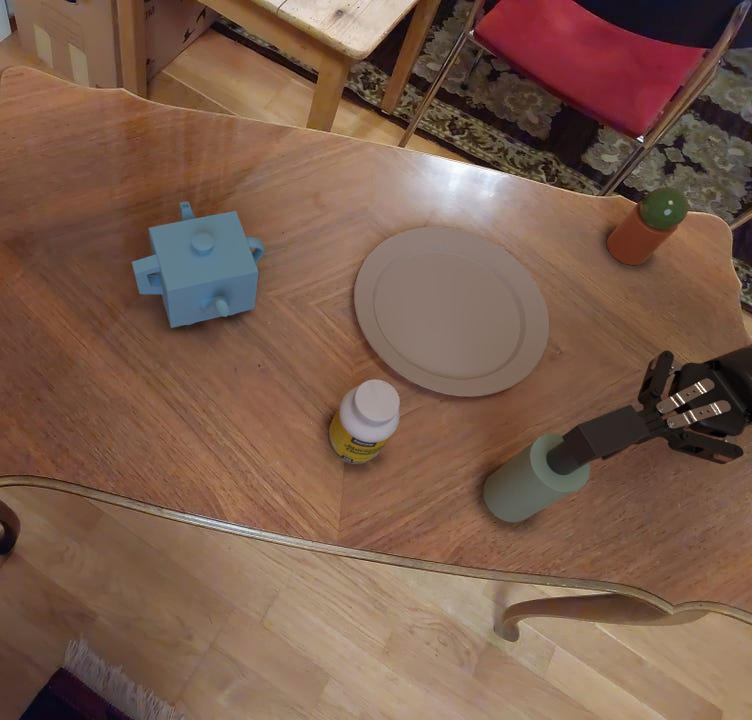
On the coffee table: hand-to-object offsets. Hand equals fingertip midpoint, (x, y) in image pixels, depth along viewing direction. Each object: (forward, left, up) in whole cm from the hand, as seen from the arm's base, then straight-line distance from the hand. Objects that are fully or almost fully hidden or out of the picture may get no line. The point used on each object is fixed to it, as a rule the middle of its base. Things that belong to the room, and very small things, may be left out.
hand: (626, 433), depth 65 cm
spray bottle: (+5, +3, -14) cm, 15 cm away
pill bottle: (+25, -2, -14) cm, 28 cm away
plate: (+13, -21, -14) cm, 28 cm away
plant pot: (-14, -35, -14) cm, 40 cm away
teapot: (+45, -19, -14) cm, 50 cm away
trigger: (+1, +1, -3) cm, 3 cm away
